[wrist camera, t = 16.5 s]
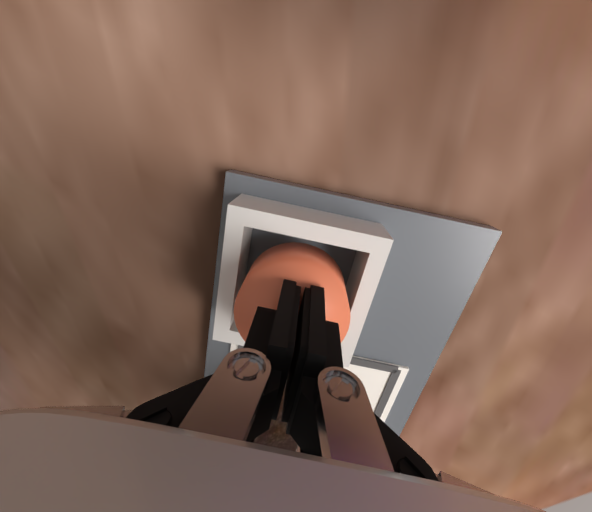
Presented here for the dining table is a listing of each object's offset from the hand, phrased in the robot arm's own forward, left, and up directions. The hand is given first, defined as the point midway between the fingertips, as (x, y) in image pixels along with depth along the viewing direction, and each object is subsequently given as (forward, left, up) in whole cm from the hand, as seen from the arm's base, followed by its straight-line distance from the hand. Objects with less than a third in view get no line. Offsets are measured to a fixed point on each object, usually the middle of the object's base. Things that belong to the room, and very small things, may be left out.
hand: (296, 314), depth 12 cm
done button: (0, 0, -2) cm, 3 cm away
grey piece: (-6, -2, -6) cm, 8 cm away
